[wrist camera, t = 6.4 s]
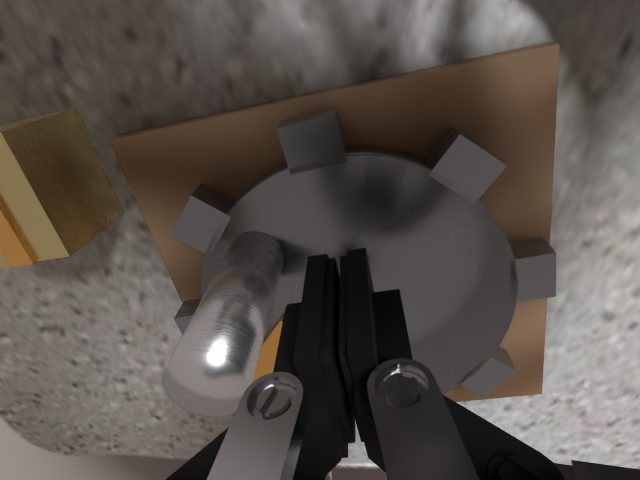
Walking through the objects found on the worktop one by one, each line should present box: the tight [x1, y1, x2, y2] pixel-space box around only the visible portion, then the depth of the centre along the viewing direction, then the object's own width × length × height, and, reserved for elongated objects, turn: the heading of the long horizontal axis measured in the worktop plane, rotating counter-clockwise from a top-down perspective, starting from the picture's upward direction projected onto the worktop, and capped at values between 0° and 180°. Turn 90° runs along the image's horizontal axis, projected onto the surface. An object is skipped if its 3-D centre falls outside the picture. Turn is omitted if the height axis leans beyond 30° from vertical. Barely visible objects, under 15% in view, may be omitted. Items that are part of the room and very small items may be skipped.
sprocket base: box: [109, 42, 560, 416], centre depth 20 cm, size 18×18×1 cm
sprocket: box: [162, 107, 556, 417], centre depth 16 cm, size 17×17×8 cm
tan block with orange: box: [0, 108, 124, 268], centre depth 17 cm, size 5×4×5 cm
